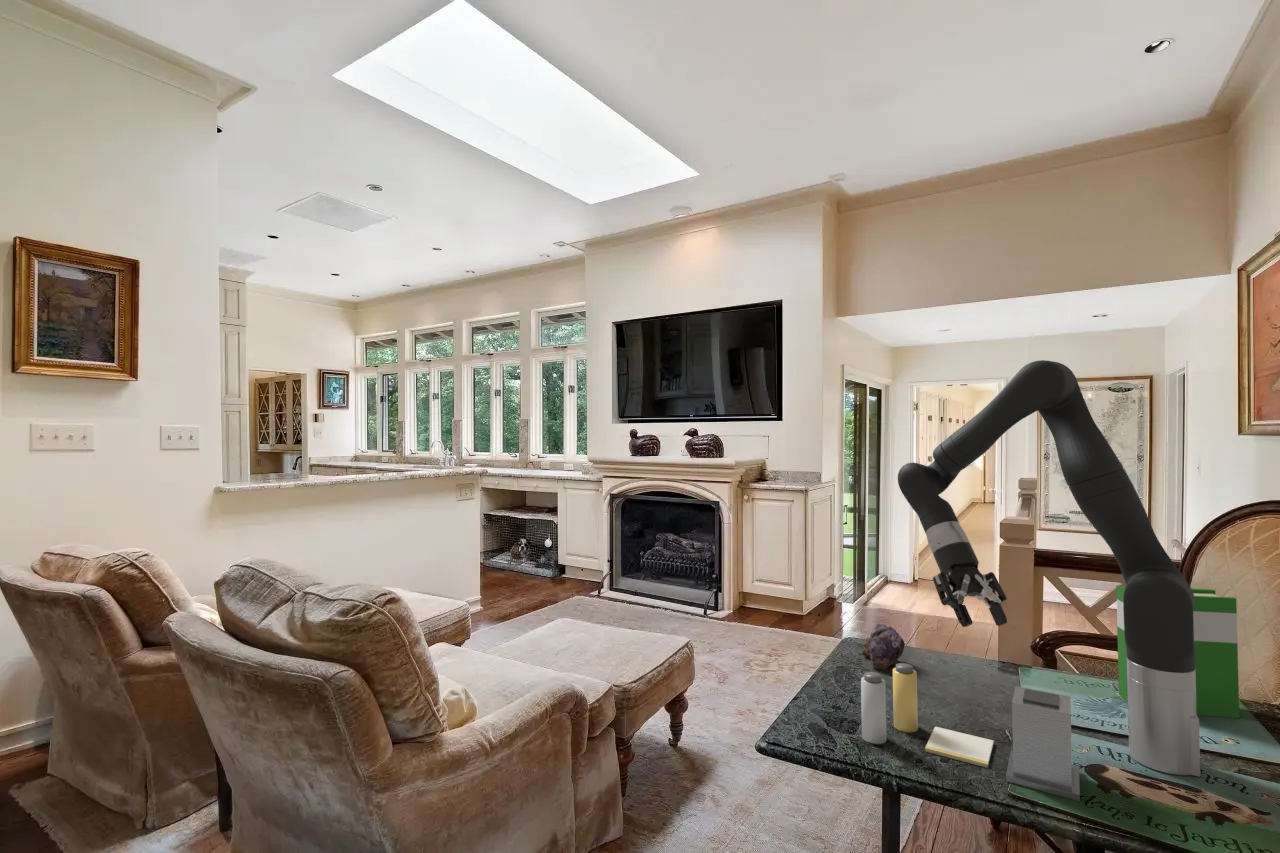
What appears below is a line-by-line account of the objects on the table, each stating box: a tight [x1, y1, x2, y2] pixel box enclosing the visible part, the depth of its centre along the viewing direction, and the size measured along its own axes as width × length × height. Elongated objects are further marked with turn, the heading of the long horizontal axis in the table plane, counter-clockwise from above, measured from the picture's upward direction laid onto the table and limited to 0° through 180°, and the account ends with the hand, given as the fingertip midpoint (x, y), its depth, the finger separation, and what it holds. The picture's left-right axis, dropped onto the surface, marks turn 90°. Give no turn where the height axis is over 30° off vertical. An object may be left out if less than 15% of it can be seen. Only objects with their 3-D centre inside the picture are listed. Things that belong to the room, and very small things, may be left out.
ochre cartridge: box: [892, 662, 919, 733], centre depth 122 cm, size 4×4×12 cm
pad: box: [924, 726, 995, 769], centre depth 114 cm, size 10×10×1 cm
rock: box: [860, 623, 906, 670], centre depth 156 cm, size 12×9×10 cm
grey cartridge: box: [860, 671, 887, 745], centre depth 118 cm, size 4×4×12 cm
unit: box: [1005, 685, 1081, 802], centre depth 104 cm, size 10×10×13 cm
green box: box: [1116, 585, 1240, 719], centre depth 130 cm, size 18×7×24 cm, turn 75°
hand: (985, 625), depth 119 cm, fingers open, 8 cm apart
